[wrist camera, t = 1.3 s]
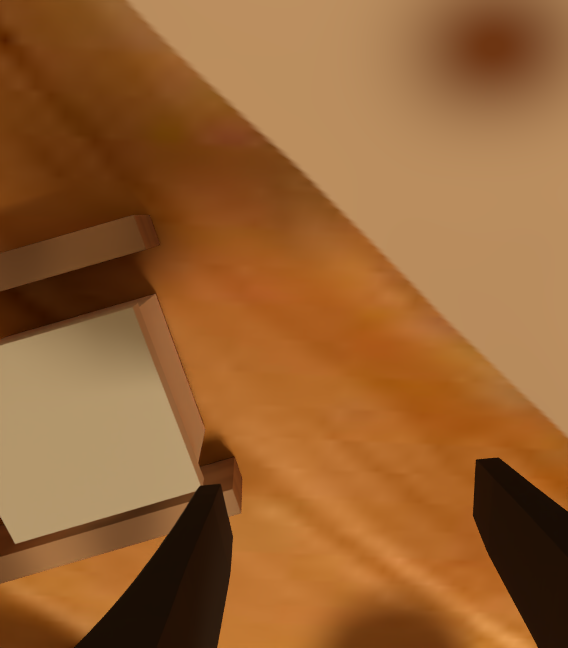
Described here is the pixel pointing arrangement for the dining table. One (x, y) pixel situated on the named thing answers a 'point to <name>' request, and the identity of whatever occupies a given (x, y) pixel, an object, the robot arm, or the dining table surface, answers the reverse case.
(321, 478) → the dining table surface
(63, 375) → the beige square block
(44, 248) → the bay
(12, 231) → the dining table surface
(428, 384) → the dining table surface
